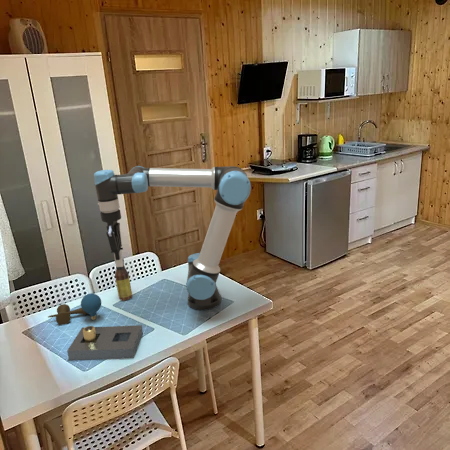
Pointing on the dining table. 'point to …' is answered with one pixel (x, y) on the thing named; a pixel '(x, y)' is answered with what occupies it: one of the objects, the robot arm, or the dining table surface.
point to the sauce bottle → (123, 283)
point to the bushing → (89, 334)
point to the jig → (107, 343)
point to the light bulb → (91, 304)
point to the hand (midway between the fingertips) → (119, 266)
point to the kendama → (66, 314)
